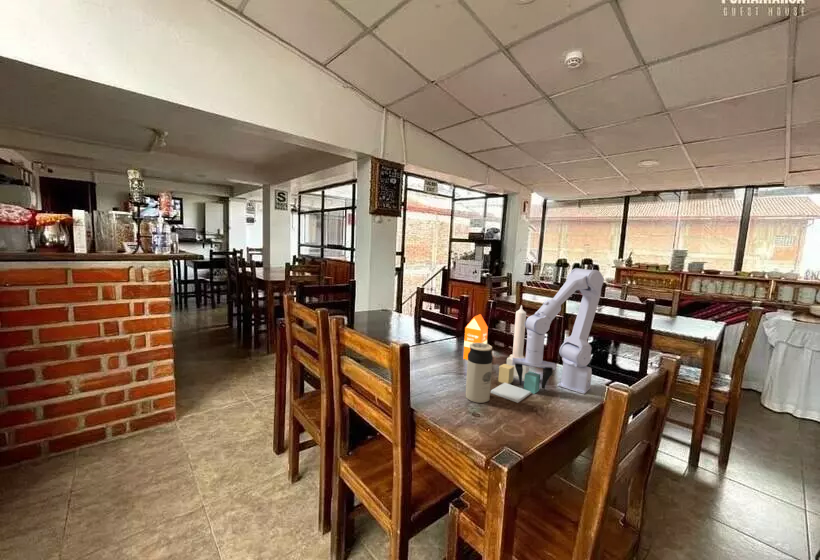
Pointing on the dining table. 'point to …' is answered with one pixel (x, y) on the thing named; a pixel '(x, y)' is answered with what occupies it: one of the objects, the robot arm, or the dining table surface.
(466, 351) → the orange juice
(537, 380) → the teal block
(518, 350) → the candle
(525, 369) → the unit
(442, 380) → the dining table surface
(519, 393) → the mat
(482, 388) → the travel mug
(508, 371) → the ochre block
